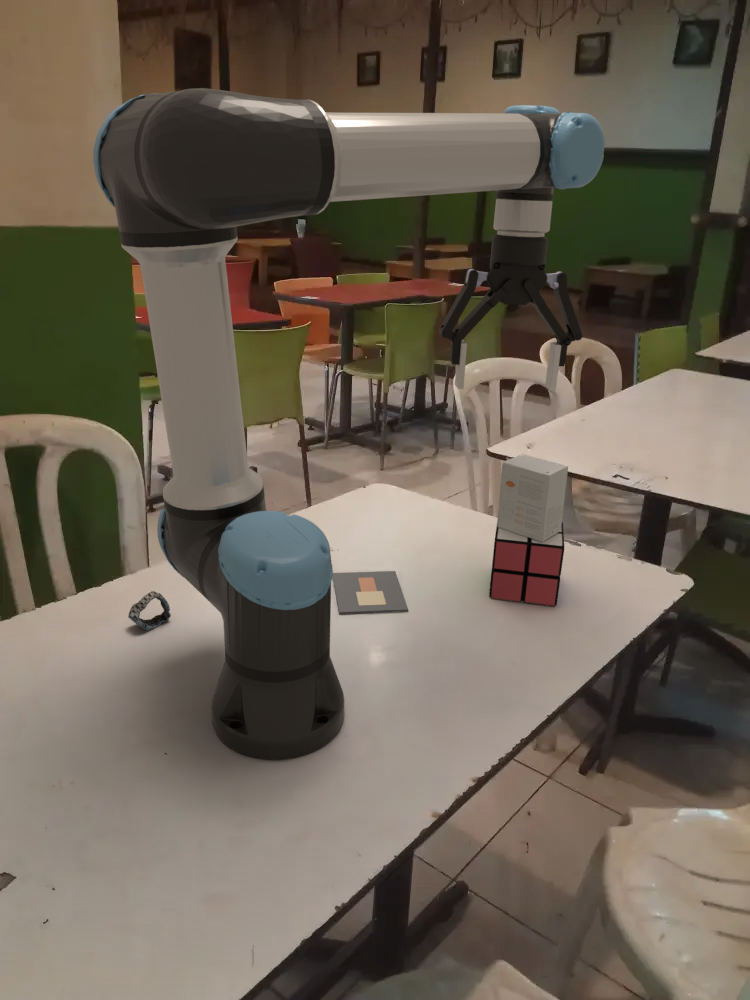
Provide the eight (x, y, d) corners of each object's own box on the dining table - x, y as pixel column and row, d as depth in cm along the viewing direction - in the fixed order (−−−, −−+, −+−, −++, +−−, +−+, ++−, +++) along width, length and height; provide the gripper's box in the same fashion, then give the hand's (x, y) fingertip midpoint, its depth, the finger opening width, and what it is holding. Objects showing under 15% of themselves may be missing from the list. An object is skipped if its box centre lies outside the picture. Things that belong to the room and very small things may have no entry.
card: (339, 614, 112) (339, 611, 112) (332, 575, 123) (332, 572, 123) (408, 611, 113) (408, 608, 113) (395, 573, 124) (395, 570, 124)
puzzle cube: (556, 608, 116) (564, 547, 112) (488, 599, 118) (494, 539, 114) (555, 577, 125) (563, 519, 121) (492, 569, 127) (498, 513, 123)
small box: (561, 532, 117) (570, 465, 113) (541, 543, 113) (550, 475, 109) (515, 516, 122) (522, 452, 118) (495, 527, 118) (502, 461, 114)
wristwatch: (148, 628, 109) (123, 614, 106) (173, 601, 110) (149, 585, 106) (156, 640, 107) (131, 626, 104) (182, 612, 108) (158, 596, 104)
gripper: (599, 235, 111) (579, 382, 119) (425, 229, 108) (416, 380, 116) (619, 238, 104) (596, 395, 112) (434, 232, 101) (424, 392, 109)
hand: (504, 387), depth 114 cm, fingers open, 13 cm apart
